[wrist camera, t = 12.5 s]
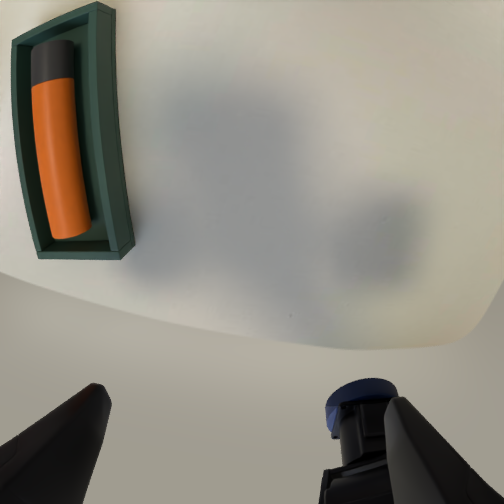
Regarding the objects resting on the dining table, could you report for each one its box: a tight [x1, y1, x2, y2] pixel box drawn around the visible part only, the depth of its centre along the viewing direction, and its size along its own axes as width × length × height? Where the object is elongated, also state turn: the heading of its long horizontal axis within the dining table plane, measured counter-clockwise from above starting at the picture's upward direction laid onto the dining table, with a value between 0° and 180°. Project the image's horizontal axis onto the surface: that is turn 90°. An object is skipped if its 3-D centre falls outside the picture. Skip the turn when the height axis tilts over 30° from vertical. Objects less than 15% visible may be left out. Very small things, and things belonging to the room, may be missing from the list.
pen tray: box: [11, 1, 135, 260], centre depth 16 cm, size 16×7×2 cm, turn 2°
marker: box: [31, 39, 92, 239], centre depth 16 cm, size 12×3×3 cm, turn 2°
